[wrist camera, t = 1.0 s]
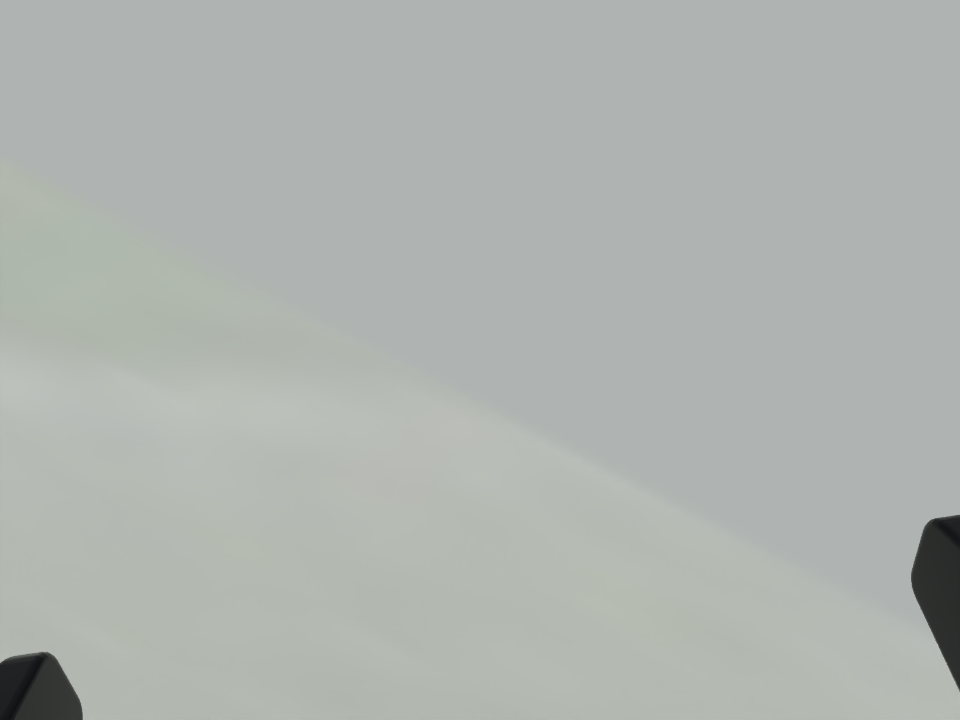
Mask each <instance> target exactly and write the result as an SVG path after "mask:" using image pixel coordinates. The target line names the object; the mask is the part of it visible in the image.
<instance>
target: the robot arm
mask: <svg viewBox="0 0 960 720" xmlns="http://www.w3.org/2000/svg"><path fill="white" fill-rule="evenodd" d="M911 582H912V588H913V591H914V594H915V597H916V599H917V601H918V604H919V606H920V607H921V610H922V612H923V614H924V616H925V618H926V621H927V623H928V625H929V627H930V629H931V631H932V633H933V635H934V638H935V640H936V642H937V644H938V646H939V648H940V650H941V652H942V655H943V657H944V659H945V661H946V663H947V665H948V667H949V670H950V672H951V674H952V676H953V678H954V680H955V682H956V684H957V687H958V689H959V691H960V515H955V516H949V517H942V518H935V519H932V520H930V521H929V522H928V523H927V524H926V525H925V527H924V530H923V533H922V536H921V540H920V544H919V547H918V551H917V554H916V557H915V561H914V564H913V568H912V573H911ZM0 720H83V713H82V707H81V703H80V700H79V698H78V696H77V694H76V692H75V691H74V689H73V687H72V685H71V683H70V682H69V680H68V678H67V676H66V675H65V673H64V671H63V669H62V668H61V666H60V664H59V662H58V660H57V659H56V658H55V656H53V655H52V654H50V653H48V652H39V653H32V654H26V655H19V656H13V657H10V658H7V659H5V660H4V661H2V662H1V663H0Z"/></svg>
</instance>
